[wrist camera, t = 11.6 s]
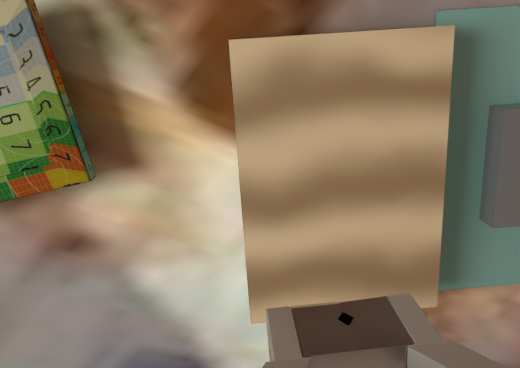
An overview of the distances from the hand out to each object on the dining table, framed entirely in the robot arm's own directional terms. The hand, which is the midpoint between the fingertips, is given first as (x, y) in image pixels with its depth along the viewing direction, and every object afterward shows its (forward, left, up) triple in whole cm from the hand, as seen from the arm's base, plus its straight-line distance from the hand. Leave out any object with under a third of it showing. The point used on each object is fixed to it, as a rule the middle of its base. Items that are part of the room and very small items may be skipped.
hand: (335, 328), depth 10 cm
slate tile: (+5, +20, -23) cm, 31 cm away
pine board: (+4, +5, -25) cm, 26 cm away
